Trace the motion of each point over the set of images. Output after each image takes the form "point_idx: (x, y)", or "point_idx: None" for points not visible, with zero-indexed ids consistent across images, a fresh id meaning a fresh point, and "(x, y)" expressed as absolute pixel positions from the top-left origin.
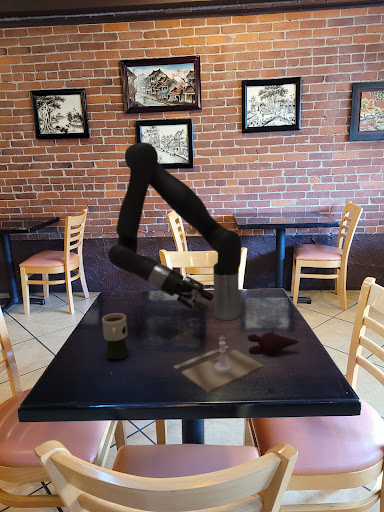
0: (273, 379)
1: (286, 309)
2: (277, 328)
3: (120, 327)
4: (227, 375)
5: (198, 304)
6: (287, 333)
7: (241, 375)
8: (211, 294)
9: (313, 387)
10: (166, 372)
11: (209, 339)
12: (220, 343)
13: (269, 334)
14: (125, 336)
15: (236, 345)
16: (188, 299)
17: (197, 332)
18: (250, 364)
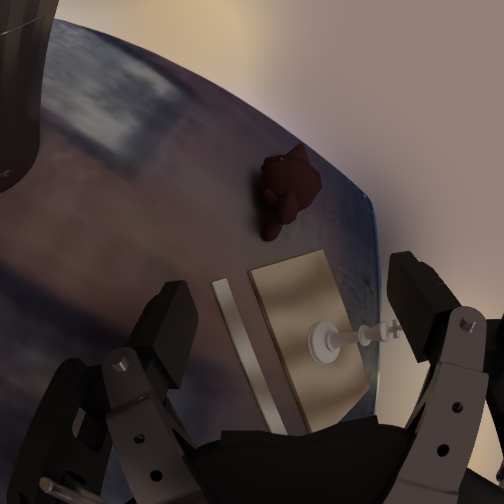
0: (348, 259)
1: (96, 38)
2: (168, 101)
3: None
4: None
5: (172, 360)
6: (201, 107)
7: (345, 311)
8: (428, 270)
9: (360, 220)
10: None
11: None
12: (389, 337)
13: (311, 175)
14: None
15: (215, 248)
16: (71, 438)
17: (58, 339)
18: (317, 272)
